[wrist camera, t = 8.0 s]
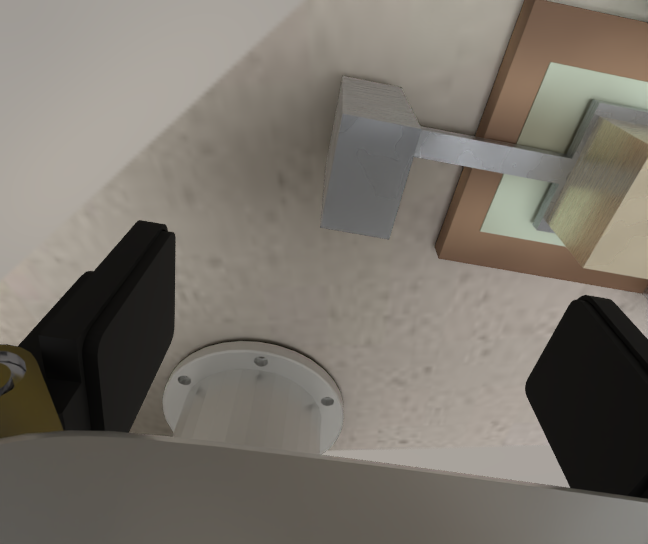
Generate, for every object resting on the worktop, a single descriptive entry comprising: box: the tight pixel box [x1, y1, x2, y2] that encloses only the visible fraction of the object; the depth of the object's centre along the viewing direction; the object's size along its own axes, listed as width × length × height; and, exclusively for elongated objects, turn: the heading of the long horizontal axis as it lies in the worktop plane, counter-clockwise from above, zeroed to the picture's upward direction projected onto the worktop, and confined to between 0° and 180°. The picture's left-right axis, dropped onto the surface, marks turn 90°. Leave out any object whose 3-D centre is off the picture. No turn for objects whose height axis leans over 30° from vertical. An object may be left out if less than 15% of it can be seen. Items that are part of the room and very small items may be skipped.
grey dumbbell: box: [320, 76, 648, 279], centre depth 18 cm, size 6×16×6 cm, turn 80°
